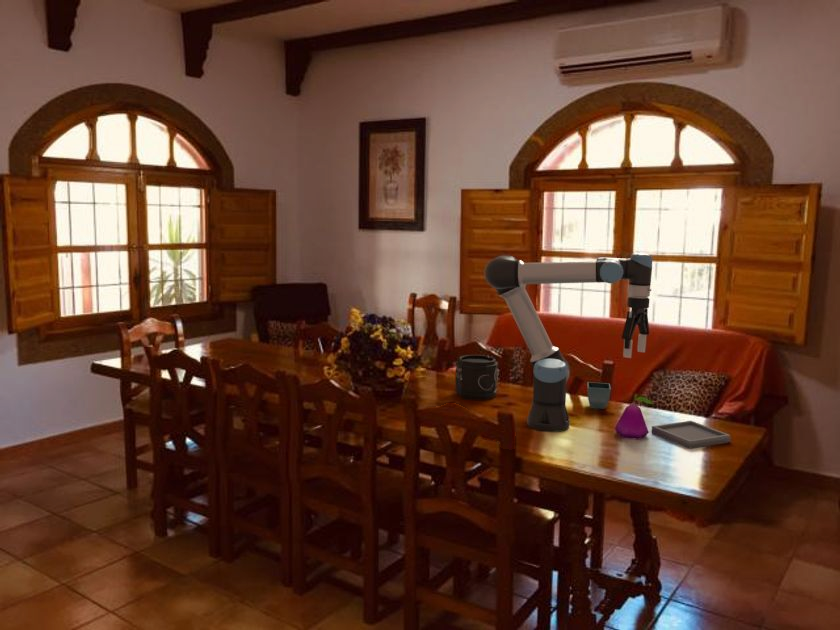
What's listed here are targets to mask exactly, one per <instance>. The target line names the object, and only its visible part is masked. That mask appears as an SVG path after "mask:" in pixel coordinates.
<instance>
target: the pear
mask: <svg viewBox="0 0 840 630" xmlns="http://www.w3.org/2000/svg"><path fill="white" fill-rule="evenodd" d="M636 401H638V402H642V403H645V404H650V405H654V403H653V402H652V401H650V399H648V398H647V397H645V396H643V395H640V396H639V397H638V394H637V393H634V396H633V401H632V402H631V403H630V404H628V405H627V406H626V407H625V408H624V411H623V412H622V414H621V416H620V418H618V422H617V423H616V425H615V426H614V430H615V432H616V434H618V435H619V436H620V437H622V438H624V439H632V440H640V439H644V438H645V437H647V436H648V434H649V430H648V426H647V424H646V420H645V418H644V416H643V411H642V410H641V409H642V408H640V406H638V404H637V403H636Z"/></svg>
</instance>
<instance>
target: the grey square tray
mask: <svg viewBox="0 0 840 630" xmlns="http://www.w3.org/2000/svg"><path fill="white" fill-rule="evenodd" d="M651 434H653V435H654V436H657V437H660V438H662V439H665V440H667V441H670V442H672V443H675V444H677V445H679V446H682V447H684V448H687V449H689V450H691V449H699V448H702V447H709V446H715V445H721V444H729V443H730V442H731V434H728V433H727V432H723V431H720V430H719V429H718V430H717V429H715V428H712V427H710V426H707V425H704V424H701V423H699V422H696V421H693V420H686V421H685V420H684V421H679V422H672V423H666V424H665V423H664V424H659V425H658V424H657V425H652V426H651ZM728 442H729V443H728Z"/></svg>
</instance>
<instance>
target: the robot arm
mask: <svg viewBox="0 0 840 630" xmlns="http://www.w3.org/2000/svg"><path fill="white" fill-rule="evenodd" d="M652 273H653V256H652V255H651V254H650V253H641V252H640V253H637V252H636V253H631V254H630V257H629V258H619V257H618V258H617V257H597V258H596V260H589V261H588V260H586V261H585V260H583V261H579V260H578V261H549V262H548V261H544V262H524V261H522V260H521V259H520V260H519V259H517V258H515V256H511V255H509V254H503V255H499V256H497V257H494V258H492V259H491V260H490V261H488V262H487V264H486V265H485V267H484V278H485V281H486V282H487V284H488V285H489V286H491V287H492V288H493V289H495V291H496V293H497V295H498V297H500V298H503V299H504V300H505V303H506V305H507V307H508V309H509V310H510V313H511V315H512V317H513V319H514V321H515V323H516V325H517V327H518V329H519V331H520V334H521V335H522V337H523V339H524V342H525V344H526V346H527V348H528V350H529V352H530V354H531V358H530V364H531V365H532V367H533V371H532V373H533V389H532V404H531V408H530V410H529V413H528V416H527V418H526V424H527V426H528V427H529V428H531V429H534V430H537V431H541V432H562V431H565V430H568V429H570V425H571V424H570V423H571V422H570V416H569V414H568V410H567V407H566V404H567V403H566V401H567V400H566V398H567V383H568V381H569V378H570V376H571V375H570V374H571V368H570V364H569V363H568V361H567V360H566V359H565V358H564V356H563V354H562V352H561V350H560V349H559V347H557V346H554V345H553V343H552V341H551V339H550V337H549V335H548V333H547V331H546V328H545V327H544V324H543V322H542V320H541V319H540V317H539V314H538V313H537V310H536V308H535V306H534V304H533V302H532V299H531V298H530V296H529V293H528V291H527V289H526V287H527V285H545V284H579V283H580V284H583V283H585V284H587V283H589V284H590V283H591V284H592V283H599V284H601V283H605V284H615V283H618V282H619V281H621V280H628V289H627V295H628V296H627V304H626V305H627V307H628V308H631V310H630V311H627V312H626V319H625V322H624V327H623V331H622V335H621V339H622V340H623V350H622V351H623V352H622V353H623V354H622V357H623V358H628V359H632V353H633V342H634V341H633V339H632V338H633V335H634V333H635V331H636V327H638V331H639V334H638V337H637V338H638V340H637V348H636V349H637V350H636V351H637V352H638V353H646V347H647V336H649V335H650V325H649V317H648V316H649V315H648V312H649V311H648V309H649V307H650V298H649V297H650V295H651V292H652V288H651V286H652V285H651V283H652Z"/></svg>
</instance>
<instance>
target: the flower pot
mask: <svg viewBox="0 0 840 630" xmlns="http://www.w3.org/2000/svg"><path fill="white" fill-rule="evenodd" d="M586 383H587V384H586V385H587V387H586V388H587V400H588V404H589V406H590V408H591V409H601V410H605V408H607V405H608V404H609V401H610V397H611V390H612V387H611V384H610V383H609V382H608V383H606V382H604V383H603V382H594V381H593V382H592V381H591V382H590V381H587V382H586Z"/></svg>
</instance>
